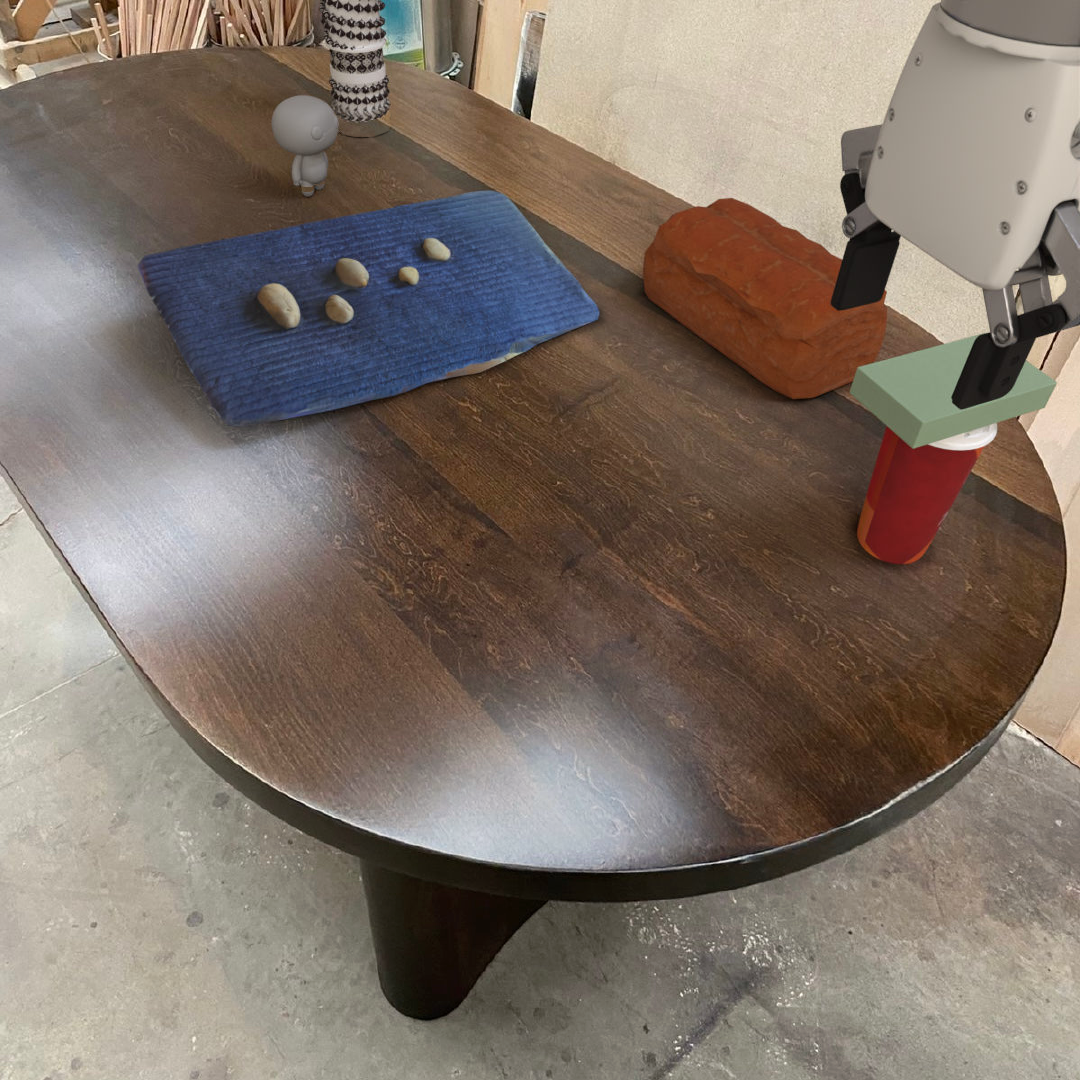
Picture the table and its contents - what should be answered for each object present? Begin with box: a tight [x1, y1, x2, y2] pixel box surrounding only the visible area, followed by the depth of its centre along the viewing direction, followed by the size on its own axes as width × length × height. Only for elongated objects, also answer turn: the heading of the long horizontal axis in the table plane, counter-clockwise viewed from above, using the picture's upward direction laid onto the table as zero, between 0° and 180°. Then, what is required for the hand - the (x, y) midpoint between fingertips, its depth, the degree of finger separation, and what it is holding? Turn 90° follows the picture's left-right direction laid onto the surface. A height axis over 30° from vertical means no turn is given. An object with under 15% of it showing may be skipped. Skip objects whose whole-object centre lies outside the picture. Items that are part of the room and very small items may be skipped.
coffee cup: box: [856, 423, 998, 565], centre depth 79 cm, size 8×8×15 cm
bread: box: [642, 197, 888, 400], centre depth 104 cm, size 16×27×11 cm, turn 33°
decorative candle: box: [318, 0, 392, 123], centre depth 135 cm, size 9×9×25 cm
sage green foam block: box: [849, 332, 1058, 449], centre depth 73 cm, size 13×7×2 cm, turn 115°
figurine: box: [271, 94, 339, 198], centre depth 124 cm, size 8×8×12 cm
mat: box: [137, 190, 600, 427], centre depth 105 cm, size 45×27×12 cm, turn 126°
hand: (912, 349), depth 51 cm, fingers open, 9 cm apart
